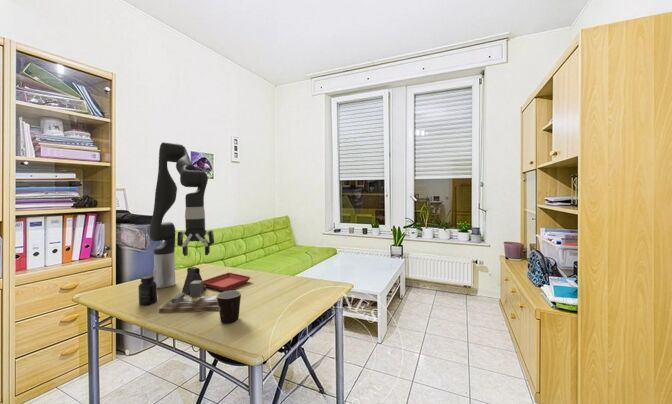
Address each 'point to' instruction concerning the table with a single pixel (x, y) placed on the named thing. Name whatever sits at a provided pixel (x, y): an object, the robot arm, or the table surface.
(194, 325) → the table surface
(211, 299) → the slider puzzle board
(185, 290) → the phone stand
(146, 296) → the supplement bottle
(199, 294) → the leg
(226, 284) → the plant saucer
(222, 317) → the coffee mug
